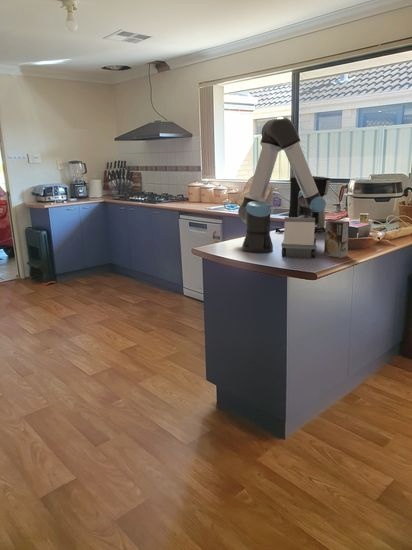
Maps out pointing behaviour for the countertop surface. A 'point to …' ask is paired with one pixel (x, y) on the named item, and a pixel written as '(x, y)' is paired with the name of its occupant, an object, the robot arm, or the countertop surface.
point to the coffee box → (336, 238)
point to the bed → (298, 251)
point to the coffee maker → (322, 187)
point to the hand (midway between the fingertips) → (302, 230)
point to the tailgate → (299, 232)
